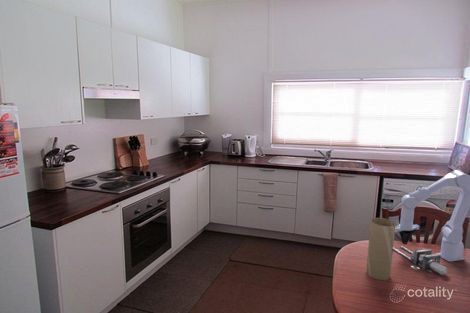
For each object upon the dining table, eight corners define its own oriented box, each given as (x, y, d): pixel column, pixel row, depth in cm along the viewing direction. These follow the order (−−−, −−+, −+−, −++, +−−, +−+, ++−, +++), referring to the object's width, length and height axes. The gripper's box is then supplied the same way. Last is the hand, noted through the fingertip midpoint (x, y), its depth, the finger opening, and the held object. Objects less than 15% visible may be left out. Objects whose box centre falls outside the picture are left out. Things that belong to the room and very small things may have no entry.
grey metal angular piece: (403, 247, 171) (404, 235, 170) (444, 271, 148) (446, 258, 146) (384, 249, 168) (385, 237, 167) (423, 274, 145) (424, 261, 143)
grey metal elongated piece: (410, 259, 158) (411, 251, 158) (416, 258, 160) (417, 250, 159) (440, 276, 144) (441, 268, 143) (447, 274, 145) (448, 266, 144)
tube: (362, 273, 145) (367, 222, 140) (370, 265, 152) (375, 216, 148) (385, 282, 138) (391, 228, 134) (393, 273, 146) (398, 221, 141)
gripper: (412, 214, 168) (409, 238, 171) (389, 217, 164) (387, 241, 167) (423, 219, 161) (420, 244, 164) (399, 222, 158) (397, 247, 160)
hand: (404, 243), depth 165 cm, fingers closed
